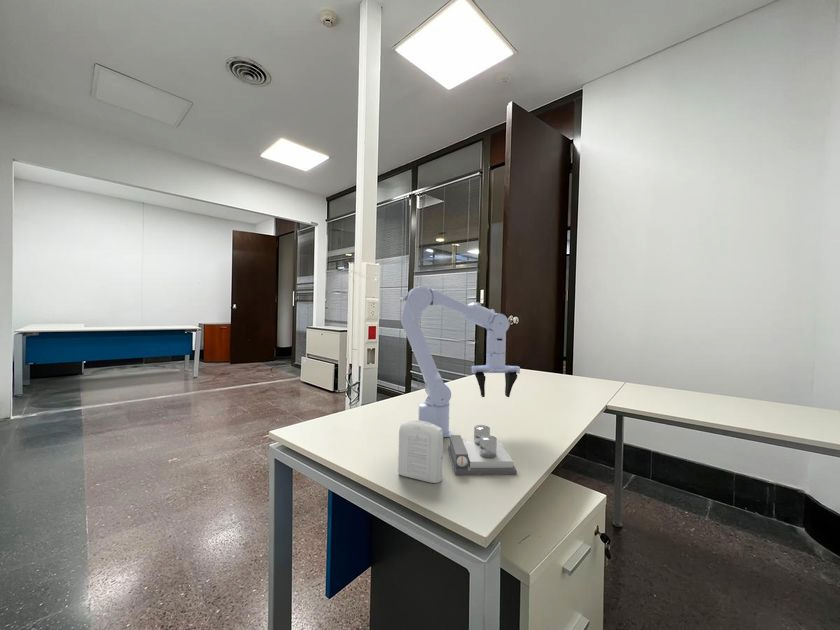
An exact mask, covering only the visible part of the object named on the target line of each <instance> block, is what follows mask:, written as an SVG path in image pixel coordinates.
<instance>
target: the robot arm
mask: <svg viewBox="0 0 840 630" xmlns="http://www.w3.org/2000/svg"><path fill="white" fill-rule="evenodd" d="M429 306H442V307H444V308H447V309H449V310H452V311H454V312H457V313H459V314H462V315H463V317H464V320H465V321H467V322H470V323H472V324H475V325H477V326H479V327H482V328H485V330H486V353H485V354H486V360H485V361H486V362H485V364H484V365H483V364H482V365H471V373H472V374H474V376H475V378H476V380H477V384H478V386H479V387H478V388H479V392H480V396H481V398H485V396H486V395H485V394H486V390H485V387H486V386H485V385H486V375H485V374H504V381H505V385H504V386H505V387H504V392H505V393H504V394H505V396H506V398H510V397H511V396H510V395H511V392H512V388H513V386H514V384H515V382H516V381H517V379H518V374H521V367H520V366H518V365H506V351H507V350H506V348H507V347H506V346H507V345H506V342H507V331H508V329H509V328H510V324H511V323H510V322H509V319H508V317H507V316H506V315H505V314H503V313H496V311H495V309H493V308H491V309H490V308H487V307H484V306H482V303H480V302H479V301H478V302H471V303H468V304H467V303H464V302H463V301H461V300H459V299H457V298H454V297H452V296H450V295H448V294H445V293H443V292H441V291H438V290H436V289H432V288H428V287H426V286H423V285H422V286H421V285H420V286H416V287H412V288H411V289H410V290H409V291H408V292H407V294H406V296H405V298H404V300H403V306H402V310H401V315H400V323H401V325H402V328H403V330H404V332H405V335H406V338H407V340H408V342H409V345H410V347H411V349H412V352H413V354H414V356H415V359H416V362H417V364H418V367H419V370H420V372H421V375H422V378H423V381H424V391H425V393H426V395H427V397H426V398H425V401H424V402H419V403H418V419H417V421H425V422H429V423H432V424H434V425H436V426H438V427H440V428H442V430H443V438H450V435H453V434H452V432H451V429H450V400H451V399H452V392H451V389H450V387H449V386H448V385H447V384H446V383H445V382H444V381H443V377H442V376H441V374H440V372H439V370H438V367H437V365H436V363H435V361H434V360H435V359H434V358H433V356H432V353H431V351H430V350H431V349H429V345H428V343H427V340H426V338H425V336H424V333H423V331H422V328H421V326H420V323H419V321H420V318H421V316H422V314H423V312H424V311H425V310H426V309H427V308H428V307H429Z"/></svg>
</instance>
